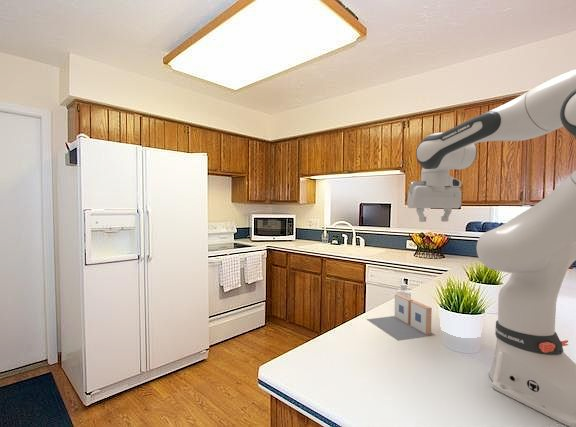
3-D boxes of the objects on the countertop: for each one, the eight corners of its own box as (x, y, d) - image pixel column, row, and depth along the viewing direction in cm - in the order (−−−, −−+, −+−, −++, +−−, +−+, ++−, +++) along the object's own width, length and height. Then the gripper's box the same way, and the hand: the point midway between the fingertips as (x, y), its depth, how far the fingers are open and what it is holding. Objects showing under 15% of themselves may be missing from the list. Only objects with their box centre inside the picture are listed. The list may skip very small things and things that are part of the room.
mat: (435, 335, 102) (435, 335, 102) (398, 341, 97) (398, 340, 97) (399, 316, 120) (399, 315, 120) (366, 320, 116) (366, 319, 116)
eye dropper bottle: (405, 312, 125) (406, 283, 125) (394, 308, 130) (394, 280, 129) (412, 310, 127) (412, 282, 127) (401, 306, 132) (401, 279, 132)
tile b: (412, 324, 111) (413, 300, 111) (408, 324, 111) (408, 300, 110) (398, 316, 119) (399, 293, 119) (394, 317, 118) (394, 294, 118)
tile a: (431, 334, 103) (431, 307, 102) (426, 334, 102) (426, 308, 102) (414, 325, 110) (415, 300, 110) (410, 325, 110) (410, 301, 109)
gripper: (416, 180, 98) (415, 222, 98) (465, 181, 104) (464, 221, 104) (403, 181, 104) (402, 221, 104) (450, 183, 110) (449, 220, 110)
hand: (433, 221), depth 104 cm, fingers open, 8 cm apart
